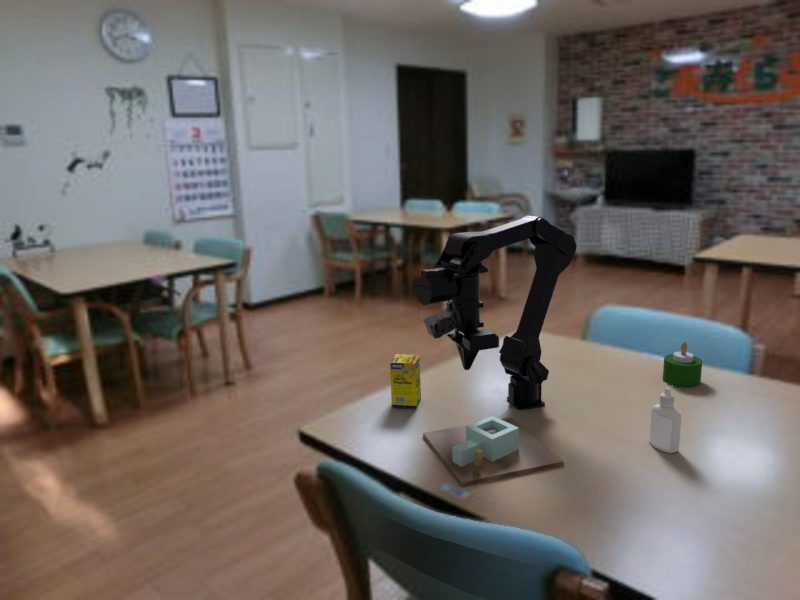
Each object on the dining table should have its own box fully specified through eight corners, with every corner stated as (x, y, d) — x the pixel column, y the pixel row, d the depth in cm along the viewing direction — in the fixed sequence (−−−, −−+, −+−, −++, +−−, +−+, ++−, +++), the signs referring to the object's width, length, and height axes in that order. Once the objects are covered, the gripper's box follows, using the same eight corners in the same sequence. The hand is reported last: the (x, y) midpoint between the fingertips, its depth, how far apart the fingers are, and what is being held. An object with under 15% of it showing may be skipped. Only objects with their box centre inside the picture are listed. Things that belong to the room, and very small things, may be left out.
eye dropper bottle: (656, 454, 114) (660, 394, 111) (647, 440, 120) (651, 382, 117) (680, 454, 114) (685, 394, 111) (670, 440, 119) (674, 382, 116)
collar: (492, 436, 122) (492, 415, 121) (518, 449, 117) (518, 427, 115) (444, 457, 115) (443, 435, 114) (470, 471, 109) (469, 448, 108)
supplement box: (417, 409, 138) (415, 363, 135) (391, 408, 139) (389, 362, 136) (421, 398, 143) (420, 354, 141) (396, 397, 145) (394, 353, 142)
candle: (702, 378, 149) (706, 339, 146) (697, 390, 142) (701, 349, 139) (666, 372, 153) (668, 334, 150) (659, 384, 146) (662, 344, 144)
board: (512, 420, 130) (512, 402, 129) (563, 465, 112) (564, 445, 111) (423, 436, 125) (422, 418, 124) (461, 486, 106) (461, 465, 105)
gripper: (412, 291, 130) (415, 360, 134) (445, 313, 113) (447, 392, 117) (461, 285, 133) (462, 353, 137) (500, 305, 116) (500, 382, 120)
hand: (466, 369), depth 128 cm, fingers closed
